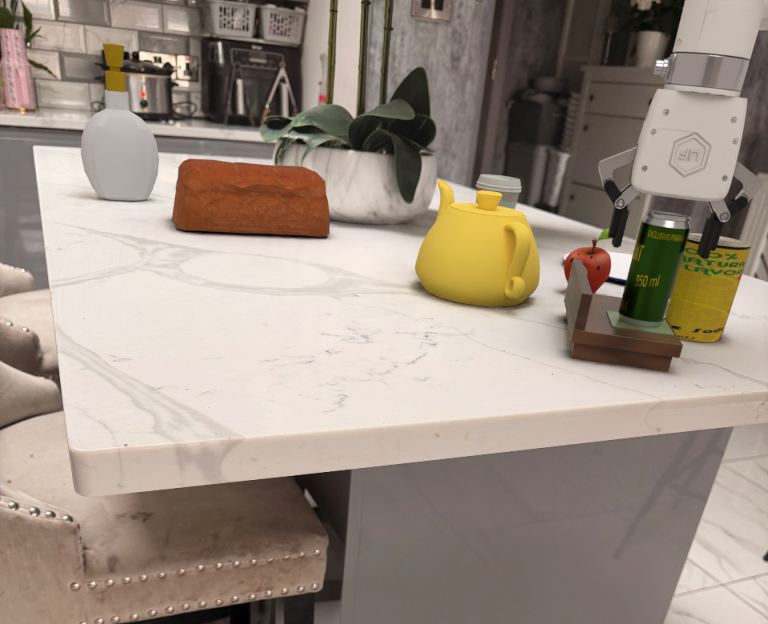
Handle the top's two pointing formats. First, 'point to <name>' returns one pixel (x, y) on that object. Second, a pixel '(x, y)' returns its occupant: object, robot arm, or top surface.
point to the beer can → (654, 268)
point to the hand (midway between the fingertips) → (658, 251)
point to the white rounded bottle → (119, 141)
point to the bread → (250, 199)
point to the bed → (613, 329)
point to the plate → (617, 266)
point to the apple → (592, 262)
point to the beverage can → (706, 289)
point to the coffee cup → (501, 188)
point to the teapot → (479, 252)
